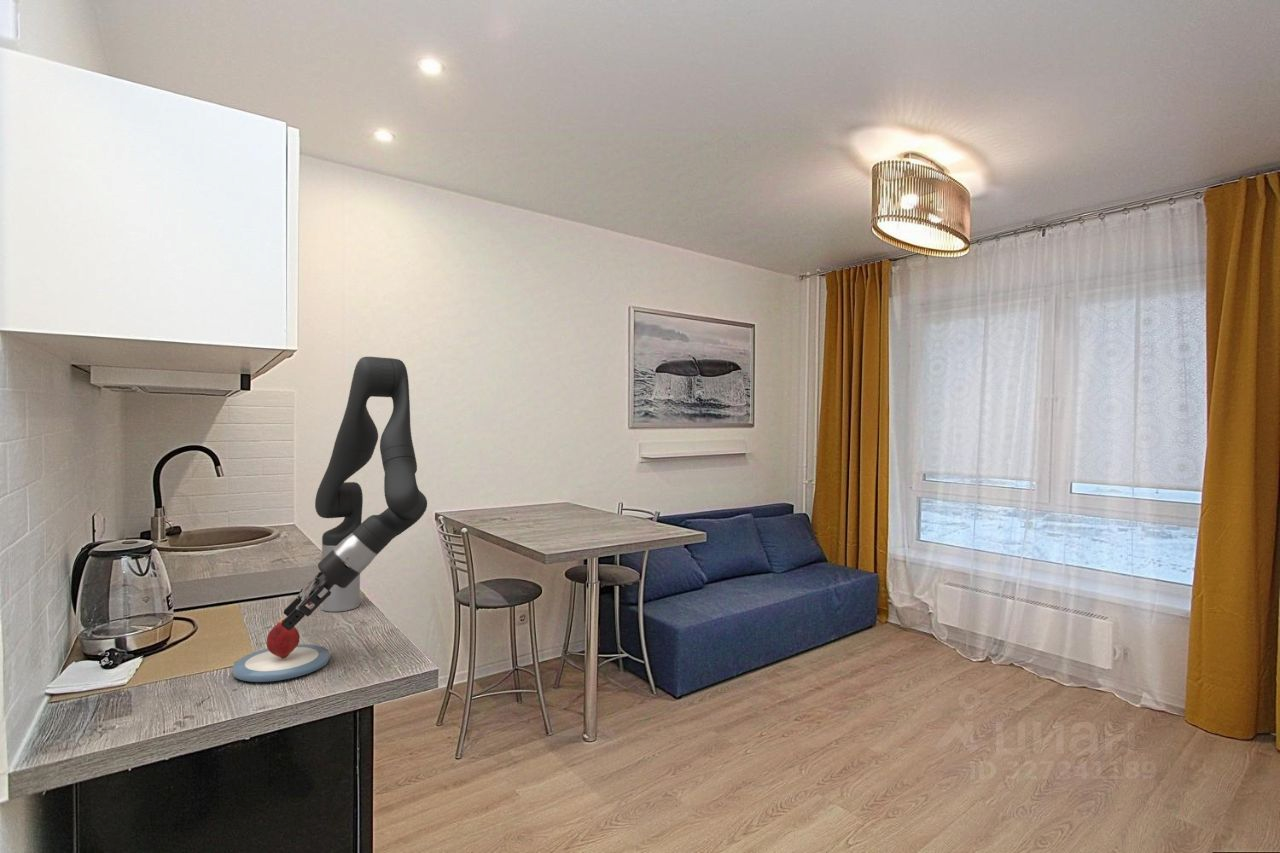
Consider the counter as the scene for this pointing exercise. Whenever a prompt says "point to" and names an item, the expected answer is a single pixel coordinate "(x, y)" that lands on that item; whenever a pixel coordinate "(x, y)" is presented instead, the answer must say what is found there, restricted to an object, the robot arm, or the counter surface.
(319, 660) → the dish
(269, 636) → the onion
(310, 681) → the counter surface
